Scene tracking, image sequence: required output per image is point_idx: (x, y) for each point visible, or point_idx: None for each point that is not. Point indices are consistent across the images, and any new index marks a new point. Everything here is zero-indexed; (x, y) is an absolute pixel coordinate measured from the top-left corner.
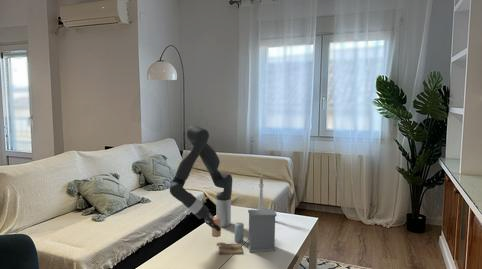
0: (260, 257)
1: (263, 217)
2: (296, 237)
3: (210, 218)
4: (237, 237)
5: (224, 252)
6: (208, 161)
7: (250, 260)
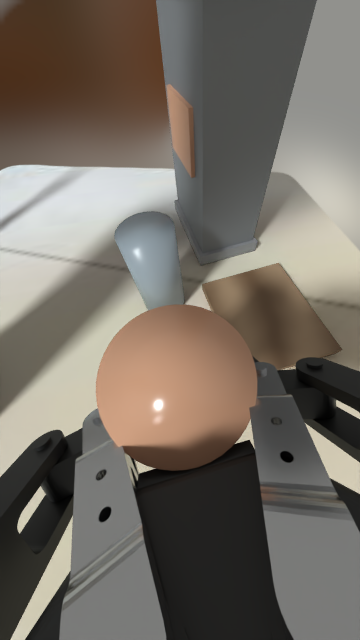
0: (278, 220)
1: None
2: (122, 176)
3: (316, 495)
4: (181, 286)
5: (324, 327)
6: None
7: (315, 239)
